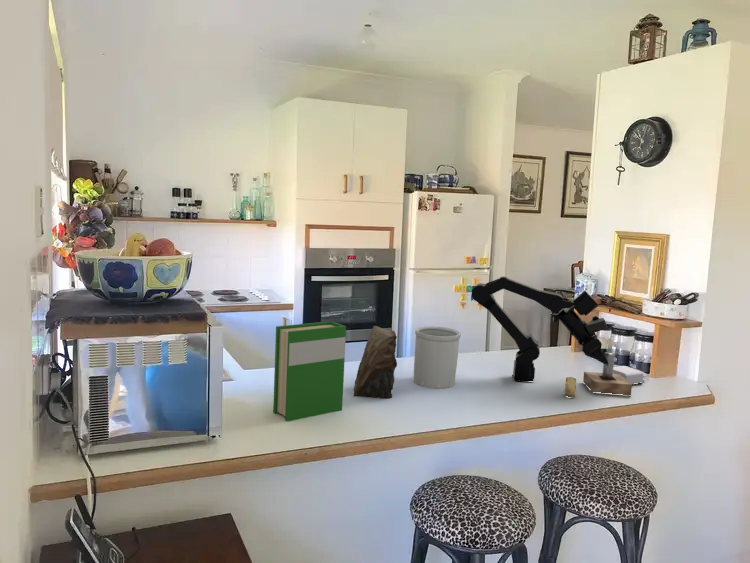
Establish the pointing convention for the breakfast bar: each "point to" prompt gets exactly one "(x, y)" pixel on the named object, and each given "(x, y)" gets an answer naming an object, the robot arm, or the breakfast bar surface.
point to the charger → (629, 374)
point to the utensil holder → (436, 356)
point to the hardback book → (309, 369)
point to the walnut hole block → (607, 383)
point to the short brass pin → (570, 387)
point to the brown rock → (377, 365)
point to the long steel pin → (608, 366)
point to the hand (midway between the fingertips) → (605, 360)
